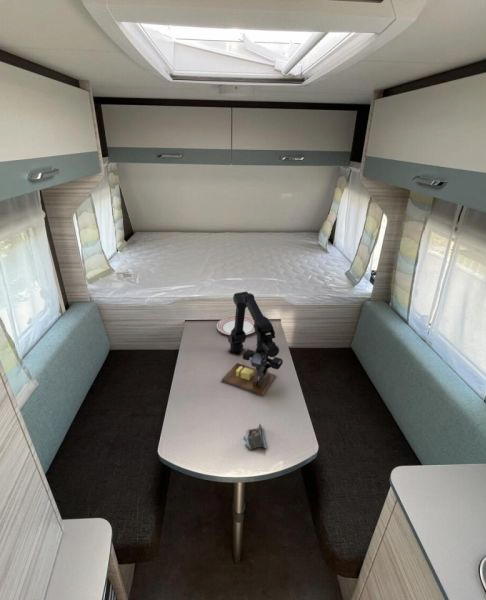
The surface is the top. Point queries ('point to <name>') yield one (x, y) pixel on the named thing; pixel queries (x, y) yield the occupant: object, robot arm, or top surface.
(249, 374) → the butter stick
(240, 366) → the butter slice
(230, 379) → the cutting board
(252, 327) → the dinner plate
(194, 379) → the top surface
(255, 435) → the grey irregular block
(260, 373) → the dark grey block
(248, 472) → the top surface
